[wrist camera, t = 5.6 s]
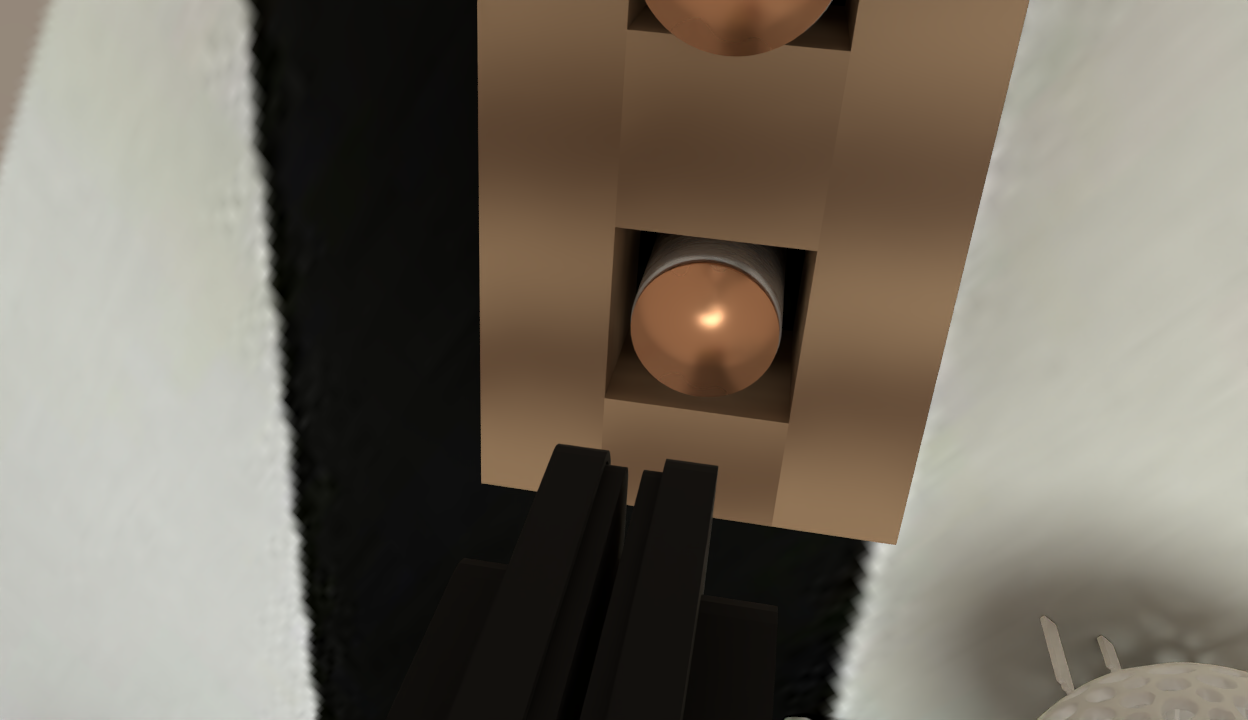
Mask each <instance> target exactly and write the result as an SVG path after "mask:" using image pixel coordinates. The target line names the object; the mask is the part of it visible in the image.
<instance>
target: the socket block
mask: <svg viewBox="0 0 1248 720" xmlns="http://www.w3.org/2000/svg"><path fill="white" fill-rule="evenodd" d="M1028 4H1029V0H846V2H845V6H838V5H829V7H828V8H827V10H826V11H825V12H824V13H823V14H822V15H821V17H820V18H819V19H818V20H817V21H816V22H815V23H814V24H813V25H812V26H811V27H810V28H809V29H808V30H806V31H805V32H804V33H802V34H801V35H800V36H798V37H797V38H795V39H794V40H792V41H790V42H789V43H787V44H785V45H783V46H781V47H779V48H776V49H774V50H771V51H768V52H765V53H761V54H757V55H751V56H741V57H735V56H722V55H716V54H711V53H708V52H705V51H702V50H699V49H697V48H695V47H693V46H690V45H688V44H687V43H685V42H683V41H682V40H680V39H679V38H677V37H676V36H674V35H673V34H672V33H671V32H670V31H669V30H667V29H666V28H665V27H664V26H663V25H662V24H661V22H660V21H659V20H658V19H657V18H656V17H655V15H654V14H653V12H652V11H651V10H650V8H649V7H648V5H647V3H646V1H645V0H477V20H478V136H479V252H480V369H481V483H484V484H491V485H498V486H505V487H511V488H518V489H525V490H531V491H538V488H539V486H540V483H541V481H542V478H543V476H544V473H545V471H546V468H547V465H548V463H549V460H550V458H551V455H552V453H553V450H554V448H555V446H556V445H557V444H566V445H573V446H580V447H587V448H594V449H602V450H609V451H610V456H611V465H615V466H622V467H628V490H627V505H632V506H634V504H635V500H636V497H637V493H638V489H639V485H640V481H641V477H642V473H643V471H644V470H650V471H657V472H663V469H664V465H665V461H666V459H673V460H681V461H688V462H695V463H702V464H709V465H716V466H718V476H717V485H716V493H715V502H714V510H713V518H719V519H726V520H732V521H739V522H746V523H752V524H759V525H766V526H773V527H779V528H786V529H793V530H799V531H806V532H813V533H819V534H826V535H833V536H840V537H846V538H853V539H860V540H866V541H873V542H880V543H886V544H893V545H896V543H897V539H898V535H899V531H900V527H901V523H902V519H903V515H904V510H905V506H906V502H907V498H908V494H909V490H910V486H911V482H912V478H913V474H914V470H915V466H916V461H917V457H918V453H919V449H920V445H921V441H922V437H923V433H924V429H925V425H926V421H927V417H928V412H929V408H930V404H931V400H932V396H933V392H934V388H935V384H936V380H937V376H938V372H939V367H940V363H941V359H942V355H943V351H944V347H945V343H946V339H947V335H948V331H949V327H950V323H951V318H952V314H953V310H954V306H955V302H956V298H957V294H958V290H959V286H960V282H961V278H962V273H963V269H964V265H965V261H966V257H967V253H968V249H969V245H970V241H971V237H972V233H973V229H974V224H975V220H976V216H977V212H978V208H979V204H980V200H981V196H982V192H983V188H984V184H985V179H986V175H987V171H988V167H989V163H990V159H991V155H992V151H993V147H994V143H995V139H996V135H997V130H998V126H999V122H1000V118H1001V114H1002V110H1003V106H1004V102H1005V98H1006V94H1007V90H1008V86H1009V81H1010V77H1011V73H1012V69H1013V65H1014V61H1015V57H1016V53H1017V49H1018V45H1019V41H1020V36H1021V32H1022V28H1023V24H1024V20H1025V16H1026V12H1027V8H1028ZM641 230H643V231H652V232H660V233H669V234H677V235H685V236H694V237H702V238H710V239H719V240H727V241H736V242H744V243H752V244H761V245H769V246H777V247H786V248H794V249H803V250H806V251H805V258H804V264H803V270H802V276H801V283H800V289H799V295H798V301H797V307H796V314H795V320H794V326H793V331H789V330H782V333H781V340H780V344H779V348H778V350H777V353H776V355H775V357H774V359H773V361H772V363H771V365H770V366H769V368H768V369H767V370H766V372H765V373H764V374H763V375H762V376H761V377H760V378H759V379H758V380H757V381H755V382H754V383H753V384H751V385H750V386H748V387H746V388H744V389H743V390H740V391H738V392H735V393H732V394H729V395H725V396H718V397H698V396H692V395H687V394H684V393H681V392H678V391H676V390H674V389H671V388H669V387H668V386H666V385H664V384H662V383H661V382H660V381H658V380H657V379H656V378H655V377H654V376H652V375H651V374H650V373H649V372H648V370H647V369H646V368H645V367H644V366H643V364H642V363H641V361H640V359H639V358H638V356H637V354H636V351H635V349H634V346H633V342H632V337H631V312H632V307H633V304H634V300H635V298H636V287H637V274H638V261H639V247H640V234H641Z"/></svg>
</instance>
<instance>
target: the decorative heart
mask: <svg viewBox="0 0 1248 720" xmlns="http://www.w3.org/2000/svg"><path fill="white" fill-rule="evenodd" d="M1040 621H1041V624H1042V628H1043V632H1044V636H1045V639H1046V643H1047V647H1048V650H1049V654H1050V658H1051V661H1052V665H1053V669H1054V673H1055V676H1056V680H1057V682H1059V683H1060V684H1061V686H1062V689H1063V690H1064V691H1065V692H1066V693H1067V695H1066V696H1065V697H1064V698H1062V699H1060V700H1059V701H1058V702H1057V703H1055V704H1054V705H1053V706H1052V707H1050V708H1049V709H1048V710H1047V711H1046V712H1044V713H1043V714H1042V715H1041V716H1040V717H1039V718H1038V719H1037V720H1248V672H1245V671H1241V670H1237V669H1233V668H1228V667H1224V666H1218V665H1210V664H1201V663H1191V662H1172V663H1162V664H1154V665H1147V666H1141V667H1133V668H1126V669H1121V666H1120V663H1119V660H1118V658H1117V655H1116V652H1115V649H1114V646H1113V644H1112V643H1111V642H1109V641H1108V640H1107V639H1106V638H1104V637H1103V636H1102V635H1101V636H1099V637H1097V640H1098V643H1099V646H1100V649H1101V652H1102V655H1103V658H1104V661H1105V664H1106V667H1107V668H1108V669H1110V671H1111V673H1109V674H1106V675H1104V676H1101V677H1099V678H1096V679H1094V680H1091V681H1089V682H1087V683H1085V684H1084V685H1082V686H1080V687H1078V688H1077V689H1074V686H1073V682H1072V679H1071V675H1070V672H1069V668H1068V665H1067V661H1066V658H1065V654H1064V651H1063V647H1062V644H1061V640H1060V637H1059V633H1058V630H1057V626H1056V624H1055V623H1053V622H1052V621H1051V620H1050V619H1048V618H1047V617H1046V616H1045V615H1044V616H1042V617H1041V618H1040ZM1167 690H1168V691H1167Z"/></svg>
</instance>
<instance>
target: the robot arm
mask: <svg viewBox="0 0 1248 720" xmlns="http://www.w3.org/2000/svg"><path fill="white" fill-rule="evenodd" d="M717 476H718V466H716V465H709V464H702V463H695V462H688V461H681V460H673V459H666V461H665V465H664V469H663V472H657V471H650V470H644V471H643V473H642V477H641V481H640V485H639V489H638V493H637V497H636V500H635V504H634V508H633V512H632V516H631V520H630V524H629V528H628V532H627V536H626V540H625V543H624V536H625V520H626V505H627V490H628V467H622V466H615V465H611V456H610V451H609V450H602V449H594V448H587V447H580V446H573V445H566V444H557V445H556V446H555V448H554V450H553V453H552V455H551V458H550V460H549V463H548V465H547V468H546V471H545V473H544V476H543V478H542V481H541V483H540V486H539V488H538V491H537V493H536V496H535V498H534V501H533V504H532V506H531V509H530V511H529V514H528V516H527V519H526V521H525V524H524V526H523V529H522V531H521V534H520V537H519V539H518V542H517V544H516V547H515V549H514V552H513V554H512V557H511V559H510V562H509V564H508V565H506V564H500V563H493V562H487V561H480V560H474V559H467V558H464V559H463V560H462V561H460V562H459V563H458V565H457V567H456V569H455V571H454V572H453V574H452V576H451V578H450V581H449V583H448V585H447V587H446V589H445V592H444V594H443V596H442V598H441V600H440V602H439V605H438V607H437V609H436V611H435V613H434V616H433V618H432V620H431V622H430V624H429V626H428V629H427V631H426V633H425V635H424V637H423V640H422V642H421V644H420V646H419V648H418V650H417V653H416V655H415V657H414V659H413V661H412V663H411V666H410V668H409V670H408V672H407V674H406V677H405V679H404V681H403V683H402V685H401V687H400V690H399V692H398V694H397V696H396V698H395V701H394V703H393V705H392V707H391V709H390V711H389V714H388V716H387V718H386V720H772V718H773V700H774V681H775V662H776V643H777V625H778V608H777V606H772V605H766V604H759V603H753V602H746V601H740V600H733V599H727V598H720V597H714V596H707V595H703V593H704V585H705V577H706V568H707V560H708V552H709V543H710V535H711V527H712V518H713V510H714V502H715V493H716V485H717Z"/></svg>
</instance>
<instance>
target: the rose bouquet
mask: <svg viewBox="0 0 1248 720" xmlns="http://www.w3.org/2000/svg"><path fill="white" fill-rule="evenodd" d="M784 720H813V719H810V718H805V717H787V718H785V719H784Z"/></svg>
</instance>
